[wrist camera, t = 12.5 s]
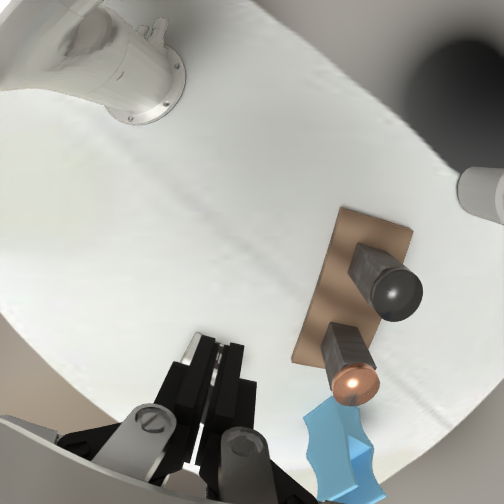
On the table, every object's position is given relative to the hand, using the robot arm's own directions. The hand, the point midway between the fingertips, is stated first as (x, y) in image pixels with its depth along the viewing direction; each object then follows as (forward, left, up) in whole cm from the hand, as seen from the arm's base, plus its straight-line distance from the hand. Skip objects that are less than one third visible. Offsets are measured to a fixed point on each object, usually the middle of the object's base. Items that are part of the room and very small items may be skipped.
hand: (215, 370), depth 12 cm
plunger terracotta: (+13, +16, -30) cm, 37 cm away
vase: (+30, +22, -32) cm, 49 cm away
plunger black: (+1, +16, -30) cm, 34 cm away
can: (-14, +31, -32) cm, 47 cm away
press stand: (+7, +16, -32) cm, 37 cm away
